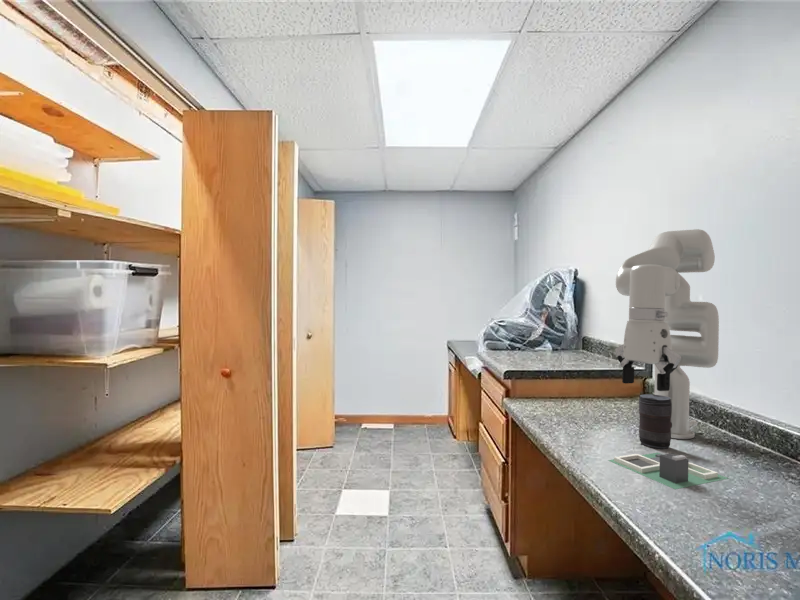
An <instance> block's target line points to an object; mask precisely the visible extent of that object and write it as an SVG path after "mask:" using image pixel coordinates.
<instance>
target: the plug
mask: <svg viewBox="0 0 800 600" xmlns="http://www.w3.org/2000/svg"><path fill="white" fill-rule="evenodd" d="M688 462H689V459H688V458H687V455H686V456H685V455H684V454H680V455H679V454H674V453H666V454H664V455H660V472H659V477H661V478H664V479H666V480H668V481H671V482H673V483H682V482H687V481H688Z"/></svg>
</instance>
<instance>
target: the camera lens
mask: <svg viewBox="0 0 800 600" xmlns="http://www.w3.org/2000/svg"><path fill="white" fill-rule="evenodd" d="M638 414H639V425H638V426H639V427H638V431H639V432H638V437H639V442H640V445H641V446H644V447H647V448H652V449H657V450H665V449H666V450H667V449H669V448H670V446H671V442H672V440H671V439H672V438H671V428H672V422H671V414H672V403H671V398H669V397H666V396H662V395H655V394H653V393H652V394H650V393H648V394H647V393H646V394H640V395H639V400H638Z"/></svg>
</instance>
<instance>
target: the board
mask: <svg viewBox="0 0 800 600" xmlns="http://www.w3.org/2000/svg"><path fill="white" fill-rule="evenodd" d="M660 455H665V454H663V453H660V452H653V453H648V454H647V453H646V454H640V453H639V454H638V453H633V454H626V455H621V456H614V457H613V459H608V460H607V461H609V462H610V463H613V464H615V465H618V466H620V467H622V468H623V469H624V468H625V469H626V470H629V471H631V472H634V473H635V474H638V475H641V476H643V477H645V478H647V479H650V480H653V481H655V482H657V483H659V484H661V485H663V486H666V487H669V488H671V489H672V490H678V489H679V490H680V489H683V488H690V487H693V486H698V485H703V484H709V483H714V482H718V481H723V480H729V479H730V478H729V477H727V476H725V475H721V474H719V472H717V471H714V470H711V469H709V468H706V467H703V466H701V465H698V464H695V463H692V462H689V461H688V481H687V482H682V483H673V482H671V481H668V480H666V479H664V478H661V477H659V472H660Z"/></svg>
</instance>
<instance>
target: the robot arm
mask: <svg viewBox="0 0 800 600" xmlns="http://www.w3.org/2000/svg"><path fill="white" fill-rule="evenodd" d="M713 246H714V245H713V242H712V238H711V237H710V235H709V234H708V232H707V231H705V230H703V229H699V228H698V229H697V228H694V229H685V230H684V229H683V230H670V231H664V232H661V233H659V234H657V235H656V236H654V238H653V240H652V242H651V244H650V246H649V247H648V249H647V250H645V251H642V252H640V253H637V254H635V255H633V256H631V257H628V258H627V259H625V260H624V261H623V263H622V264H621V266H620V267H619V270H618V271H617V274H616V277H615V288H616V290H617V292H618V293H619V294H621V295H622V296H625V297H629V305H628V307H629V309H628V320H627V322H626V325H625V330H624V336H623V337H624V338H623V344H621V345H620V346H617V347H615V349H614V351H615V355H616V357H617V360H618V362H619V365H620V367H621V368H622V376H621V378H622V379H621V380H622V384H625V385H626V384H633V383H635V367H634V366H633V365H634V364H635V363H636V362H637V363H640V364H641V363H643V364H647V365H654V395H662V396H666V397H669V398H671V403H672V414H671V422H672V428H671V439H678V440H679V439H680V440H689V439H693V438H695V437H696V436H695V432H694V431H693V430H691V427H696V426H698V421H697V420H695V419H690V386H691V384H690V383H691V382H690V379H689V376H688V375H687V374H686V372H685V371H684V370H683V369H682V368H681V367H692V368H705V369H706V368H708V369H709V368H714V367H716V365H717V363H718V360H719V342H720V341H719V340H720V339H719V334H720V332H719V331H720V328H719V327H720V326H719V323H720V320H719V319H720V318H719V311H718V308H717V306H716V305H715V304H713V303H712V302H709V301H691V286H690V284H689V282H688V281H687V280H686V278H685V277H683V276H682V275H681V274H684V273H687V274H689V273H707V272H709V271H710V270H711V269H712V268H713V266H714V265H715V250H714V247H713ZM680 273H681V274H680ZM671 331H674V332H689V333H690V332H691V333H692V332H695V333H699V334H700V336H696V335H683V334H681V335H680V334H671Z"/></svg>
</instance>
